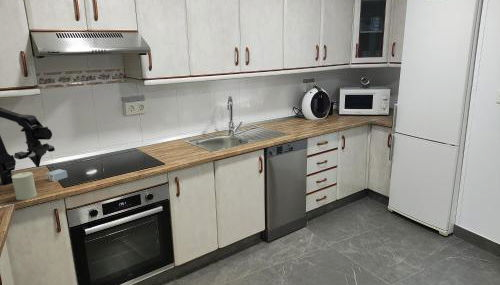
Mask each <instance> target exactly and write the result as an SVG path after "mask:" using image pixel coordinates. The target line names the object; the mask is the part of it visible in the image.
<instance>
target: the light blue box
mask: <svg viewBox="0 0 500 285" xmlns="http://www.w3.org/2000/svg"><path fill="white" fill-rule="evenodd" d="M45 176H46V180H47V181H50V182H58V181H61V180H63V179H65V178H68V173H67V170H65V169H60V168H59V169H56V170H52V171H49V172H46V173H45Z"/></svg>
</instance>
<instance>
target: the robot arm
mask: <svg viewBox="0 0 500 285" xmlns="http://www.w3.org/2000/svg"><path fill="white" fill-rule="evenodd" d="M0 118H2V119H5V120H8V121H11V122H15V123H16V124H17V125H19V126H20V127H21V129H20V132H22V133H23V132H24V135H25V140H26V141H25V144H26V145H27V149H26V152H25V151H21V150H20V151H17V152H15V153H14V154H11V155H10V154H9V152H7V149H6V146H5V143H4V141H3V139H2V135H0V185H2V186H6V185H9V184H13V181H12V176H13V173H12V172H13V171H15V168H16V165H17V164H16V163H17V161H16V159H17V160H24V159H27V158H29V159H30V160H31V161H32V163H33V165H34V166H35V167H36V168H40V164H41V159H42V158H43V156H45V154H47V151H48V152H49V153H51V152H55V151H56V150H55V149H56V148H55V147H54V145H52V144H51V145H50V144H49V143H48V142H47V143H43V144H42V140H43V141H44V140H46V141H47V140H51V139H52V137H53V132H52V130H51V129H50V128H49V127H48V126H43V125H42V123H41V122H40V121H39V120H38V119H37V116H36V115H33V114H23V113H22V114H21V113H18V112H14V111H12V110H8V109H5V108H3V107H0Z"/></svg>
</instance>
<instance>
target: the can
mask: <svg viewBox="0 0 500 285" xmlns="http://www.w3.org/2000/svg"><path fill="white" fill-rule="evenodd" d="M12 181H13V183H12V185H13V190H14V193H15V199H16V200H17V201H26V200H30V199H33V198H35V197H36V196H37V195H38V193H37V188H36V184H35V179H34V173H33V172H32V171H23V172H18V173H14V174H12Z"/></svg>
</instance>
